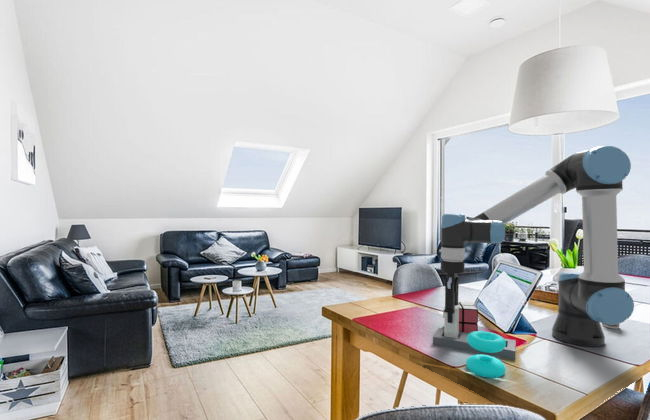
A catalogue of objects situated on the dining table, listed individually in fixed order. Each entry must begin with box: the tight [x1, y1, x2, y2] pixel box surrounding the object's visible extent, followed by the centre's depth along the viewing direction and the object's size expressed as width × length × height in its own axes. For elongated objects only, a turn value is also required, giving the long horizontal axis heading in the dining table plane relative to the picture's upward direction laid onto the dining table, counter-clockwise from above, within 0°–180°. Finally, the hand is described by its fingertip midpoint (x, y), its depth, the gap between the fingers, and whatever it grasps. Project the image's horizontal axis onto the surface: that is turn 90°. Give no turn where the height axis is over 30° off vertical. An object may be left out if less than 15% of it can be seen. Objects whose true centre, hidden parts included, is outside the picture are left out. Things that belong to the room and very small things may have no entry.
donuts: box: [465, 330, 506, 379], centre depth 102 cm, size 10×10×10 cm
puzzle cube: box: [457, 301, 479, 333], centre depth 134 cm, size 10×10×10 cm
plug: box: [442, 305, 459, 339], centre depth 122 cm, size 5×4×16 cm
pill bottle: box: [601, 323, 621, 329], centre depth 142 cm, size 5×5×10 cm
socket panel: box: [432, 327, 517, 361], centre depth 119 cm, size 24×10×3 cm, turn 62°
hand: (451, 329), depth 122 cm, fingers closed on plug, 4 cm apart
